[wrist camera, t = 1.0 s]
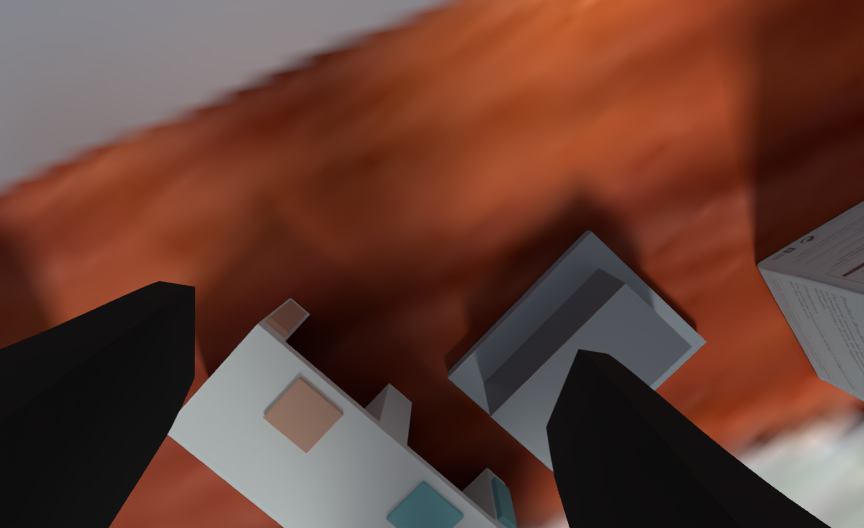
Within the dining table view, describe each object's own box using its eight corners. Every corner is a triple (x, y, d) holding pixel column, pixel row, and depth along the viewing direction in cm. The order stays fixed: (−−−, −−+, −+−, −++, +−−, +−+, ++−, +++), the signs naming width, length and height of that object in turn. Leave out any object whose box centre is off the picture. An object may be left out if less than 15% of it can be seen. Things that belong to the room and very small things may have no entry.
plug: (656, 322, 24) (692, 346, 21) (540, 434, 25) (556, 474, 22) (598, 268, 24) (625, 283, 20) (483, 383, 25) (490, 416, 21)
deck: (698, 336, 25) (706, 342, 24) (557, 468, 26) (561, 477, 26) (586, 229, 24) (591, 231, 23) (447, 371, 26) (447, 378, 25)
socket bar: (508, 478, 27) (523, 543, 22) (422, 560, 27) (419, 640, 23) (294, 293, 25) (260, 319, 20) (210, 386, 26) (160, 432, 21)
